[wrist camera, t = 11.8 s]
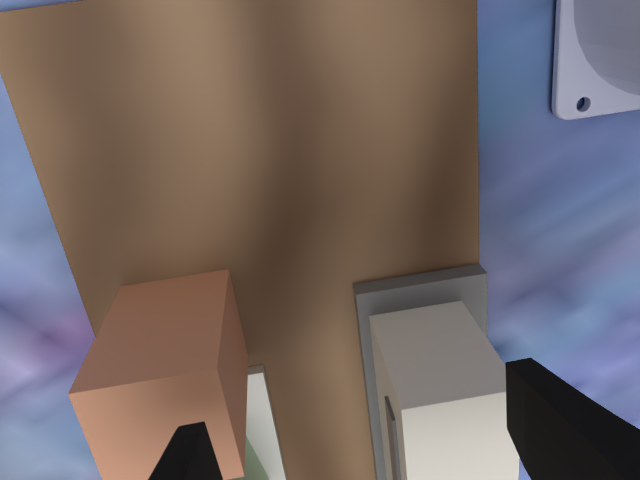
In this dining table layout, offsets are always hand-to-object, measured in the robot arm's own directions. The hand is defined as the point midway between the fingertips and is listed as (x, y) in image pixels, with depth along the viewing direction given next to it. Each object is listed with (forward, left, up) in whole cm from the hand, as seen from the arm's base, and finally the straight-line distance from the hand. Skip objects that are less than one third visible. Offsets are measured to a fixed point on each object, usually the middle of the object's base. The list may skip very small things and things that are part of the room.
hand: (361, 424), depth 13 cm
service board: (+2, +2, -9) cm, 10 cm away
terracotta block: (+6, +2, -8) cm, 10 cm away
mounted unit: (-3, +7, -9) cm, 12 cm away
